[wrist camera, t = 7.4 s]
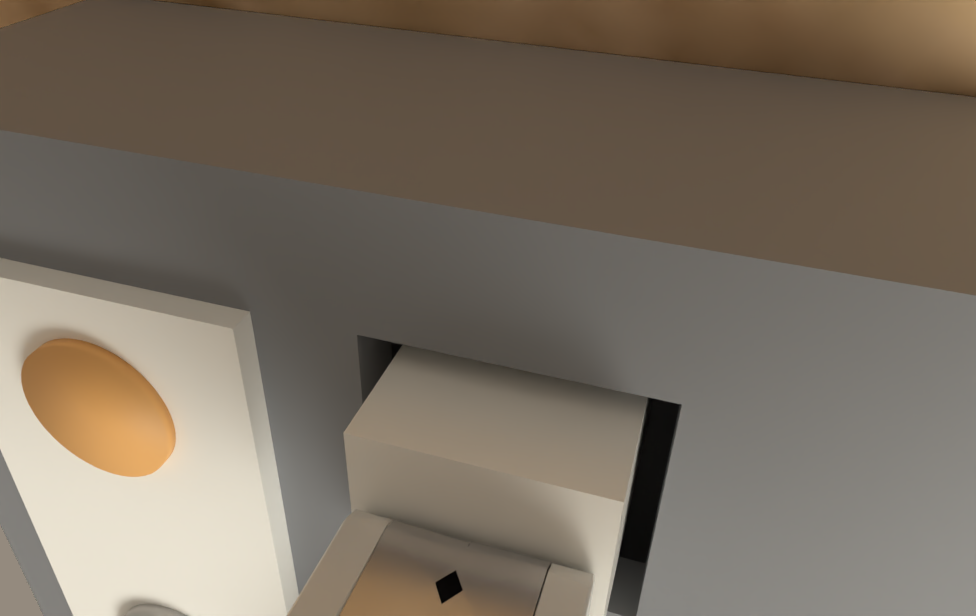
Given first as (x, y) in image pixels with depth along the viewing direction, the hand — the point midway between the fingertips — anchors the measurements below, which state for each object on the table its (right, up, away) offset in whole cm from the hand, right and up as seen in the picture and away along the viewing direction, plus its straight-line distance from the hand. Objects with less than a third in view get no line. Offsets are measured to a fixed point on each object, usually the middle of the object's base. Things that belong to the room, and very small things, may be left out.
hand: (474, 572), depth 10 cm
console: (0, -1, +10) cm, 10 cm away
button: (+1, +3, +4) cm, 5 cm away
